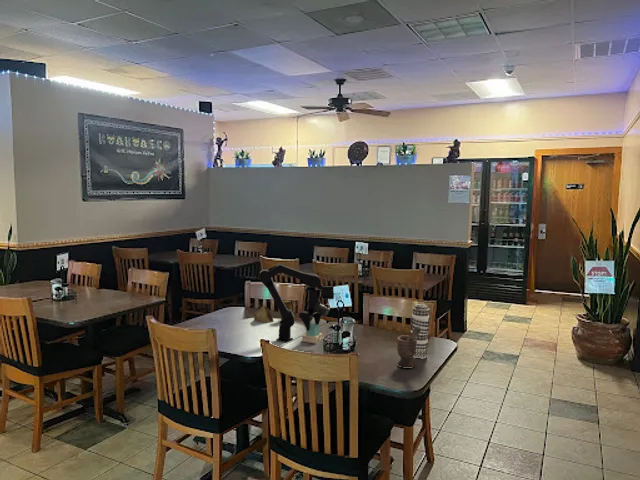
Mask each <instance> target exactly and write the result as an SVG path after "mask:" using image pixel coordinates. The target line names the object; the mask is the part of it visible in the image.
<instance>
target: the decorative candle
mask: <svg viewBox="0 0 640 480" xmlns="http://www.w3.org/2000/svg"><path fill="white" fill-rule="evenodd" d="M430 309H431V308H430V307H429V306H428V305H427V304H424V303H416V304H415V305H414V306H412V313H411V315H410V333H411V334H412V332H413V330H414V329H415V328H416V327H420V328H421V331H420V333H419V334H418V335H417V336H416V337H415V338H416V339H417V344H416V352H415V354H414V356H418V357H419V356H421V357H422V356H423V357H424V356H426V355H427V356H428V353H429V352H428V351H429V349H428V348H429V346H428V345H429V339H428V335H429V332H430V328H429V327H430V323H431V321H430V320H431V317H430V314H429V313H430Z"/></svg>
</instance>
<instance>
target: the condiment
mask: <svg viewBox="0 0 640 480" xmlns="http://www.w3.org/2000/svg"><path fill="white" fill-rule="evenodd" d="M283 302H284V304H285V306H286V307H287V308H288V310H289V309H291V310H292V309H293V307H292V301H291V300H283ZM292 311H293V310H292ZM280 318H281V319H279V320H278V322H280V321H281V320H282V317H280Z"/></svg>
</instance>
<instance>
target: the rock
mask: <svg viewBox="0 0 640 480" xmlns="http://www.w3.org/2000/svg"><path fill="white" fill-rule="evenodd" d="M253 318H254V319H253V320H254V321H256V322H261V321H263V322H262V323H273V322H274V317H273V315H272V314H271V311H270V309H269V308H268V307H267V305H263V306H261V307H260V309H259V310H258V311H257V312H256V313H255V316H254V317H253Z"/></svg>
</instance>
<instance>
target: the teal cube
mask: <svg viewBox="0 0 640 480" xmlns="http://www.w3.org/2000/svg"><path fill="white" fill-rule="evenodd" d="M320 328H321V325H320V324H319V325H318V324H315V323H313V322H312V323H311V322H310V329H309V331H307V329H306V328H305V333H306V335H309V336H314V337H315V336H317V335H319V334H320V333H321V332H320Z"/></svg>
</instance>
